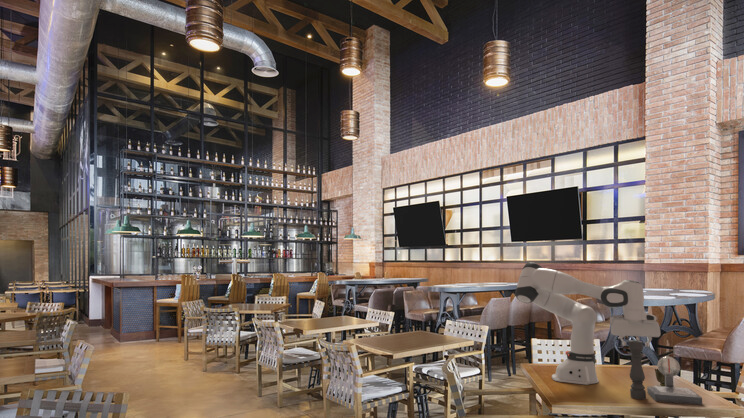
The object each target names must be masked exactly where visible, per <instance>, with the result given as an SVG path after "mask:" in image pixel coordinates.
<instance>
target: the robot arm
mask: <svg viewBox="0 0 744 418" xmlns="http://www.w3.org/2000/svg"><path fill="white" fill-rule="evenodd" d="M514 292H515V293H514V295H515V297H516V299H517V300H518V301H520V302H521V303H524V304H534V305H536V306H537V307H539V308H541V309H542V310H543V309H544V310H546V311H547V312H549V313H552V314H554V315H556V316H558V317H560V318H563V319H564V320H565V321H566V320H567V321H569V322H571V323H572V326H571V327H572V329H571V334H570V351H568V350H566V351H565V356H566V359H564V360H563V361H561V363H559V364H558V365H557V367H556V369H555V370H556V371H555V373H554V374H553V373H552V375H551V379H552V380H553V381H555V382H560V383H567V384H568V383H569V384H577V385H586V386H587V385H591V384H597V383H599V381H600V380H599V379H598V374H597V371H596V369H597V368H596V354H595V349H594V348H595V347H594V346H595V344H594V342H595V341H594V335H595V329H596V323H597V320H598V315H597V312H596V311H595V310H594V309H593V307H592V306H590V305H586V304H582V303H580V302H578V301H576V300H574V299H572V298H570V297H568V296H567V295H583V296H587V297H591V298H593V299H598V300H600V302H602V303H603V305H605V306H606V307H608V308H610V309H611V308H612V309H615V308H619V307H622V312H623V314H618V315H617V314H612V315H611V316H610V317H609V323H610V333H611V335H612V336H619V337H618V338H619V339H620V340H621V344H622V346H623V347H626V346H627V345H628V344H627V341H625V340H624V337H645V338H647V342H644V347H646V348H650V343H651V342H652V340H653V338H659V337H660V336H661V328H660V324H659V322H658V321H657V320H658V317H657V316H656V315H654V314H651V313H648V312H646V311H645V305H644V303H645V295H644V288H643V285H642V283H640V282H638V281H635V280H630V279H624V280H623V281H621V282H619V283H616V284H615V285H605V286H603V285H596V284H594V283H590V282H585V281H583V280H580V279H578V278H576V277H574V276H572V275H570V274H568V273H566V272H562V271H561V270H556V269H551V268H546V267H545V268H543V267H542V266H541V265H540V264H538V263H535V262H530V261H529V262H527V263H525V264H524V266H523V267H522V270H521V272H520V275H519V277H518V281H517V285H516V288H515V291H514Z"/></svg>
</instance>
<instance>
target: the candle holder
mask: <svg viewBox="0 0 744 418" xmlns="http://www.w3.org/2000/svg"><path fill="white" fill-rule="evenodd" d="M628 348H629V350H630V354H629V356H630V358H631V366H630V371H629V378H630V380H631V382H632V383H631V384H630V389H629V391H630V392H629V393H630V395H629V396H630V398H632V399H634V400H646V399H647V392H646V387H645V385H644V384H643V383H644V381H645V379H646V376H645V375H646V374H645V372H644V369H643V365H642V358H643V357H644V356H643V354H642V351H643V349H644V346H643V341H642V340H634V339H632V340H631V339H630V340H628Z"/></svg>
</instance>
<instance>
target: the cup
mask: <svg viewBox="0 0 744 418" xmlns="http://www.w3.org/2000/svg"><path fill="white" fill-rule="evenodd" d="M654 372H655V377H656V381H657V382H658V383H660V384H659V386H665V375H663V374H662V373H661V372H660V371H659V369H658V367H657V368H655V369H654Z"/></svg>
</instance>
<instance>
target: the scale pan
mask: <svg viewBox="0 0 744 418" xmlns="http://www.w3.org/2000/svg"><path fill="white" fill-rule="evenodd" d="M653 387H654V389H655V390H656V391H657V392H658V393H659V394H660V395H673V396H685V397H697V395H696V394H697V393H696V392H695V391H694V390H692V389H690V388H689V387H676V386H674V387H666V386H661V385H653ZM691 390H692V391H691ZM693 391H694V392H695V393H696V394H695V393H694V392H693Z"/></svg>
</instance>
